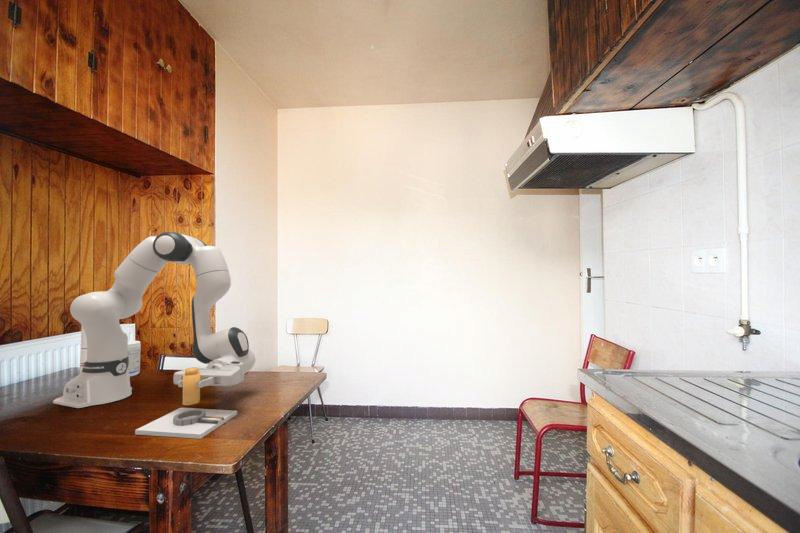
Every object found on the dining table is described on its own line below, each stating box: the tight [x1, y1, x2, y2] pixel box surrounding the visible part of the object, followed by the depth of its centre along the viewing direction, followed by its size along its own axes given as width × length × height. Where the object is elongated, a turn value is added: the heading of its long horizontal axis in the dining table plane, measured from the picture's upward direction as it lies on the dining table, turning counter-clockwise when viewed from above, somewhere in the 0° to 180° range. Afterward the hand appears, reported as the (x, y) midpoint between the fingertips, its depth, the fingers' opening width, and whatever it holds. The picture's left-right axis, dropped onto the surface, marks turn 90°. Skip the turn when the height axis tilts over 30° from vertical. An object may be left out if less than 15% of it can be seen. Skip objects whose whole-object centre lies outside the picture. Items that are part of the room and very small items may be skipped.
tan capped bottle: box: [182, 366, 201, 406], centre depth 98 cm, size 4×4×10 cm
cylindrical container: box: [79, 326, 87, 374], centre depth 147 cm, size 7×7×25 cm
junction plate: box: [134, 407, 238, 440], centre depth 98 cm, size 20×16×3 cm
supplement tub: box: [127, 340, 142, 378], centre depth 147 cm, size 10×10×15 cm
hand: (189, 384), depth 97 cm, fingers closed on tan capped bottle, 4 cm apart
